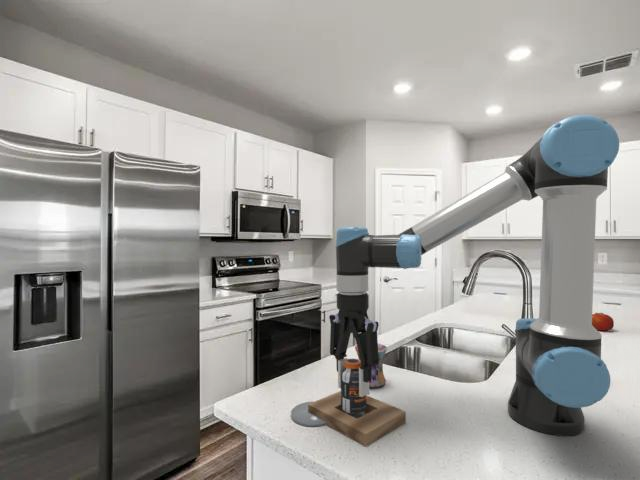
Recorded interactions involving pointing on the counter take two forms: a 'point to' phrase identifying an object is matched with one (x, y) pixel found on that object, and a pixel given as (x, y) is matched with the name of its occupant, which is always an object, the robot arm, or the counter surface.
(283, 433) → the counter surface
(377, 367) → the mug
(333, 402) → the socket block
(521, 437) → the counter surface
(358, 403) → the pill bottle
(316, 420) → the coaster
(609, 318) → the tomato
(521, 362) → the robot arm
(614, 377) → the counter surface
